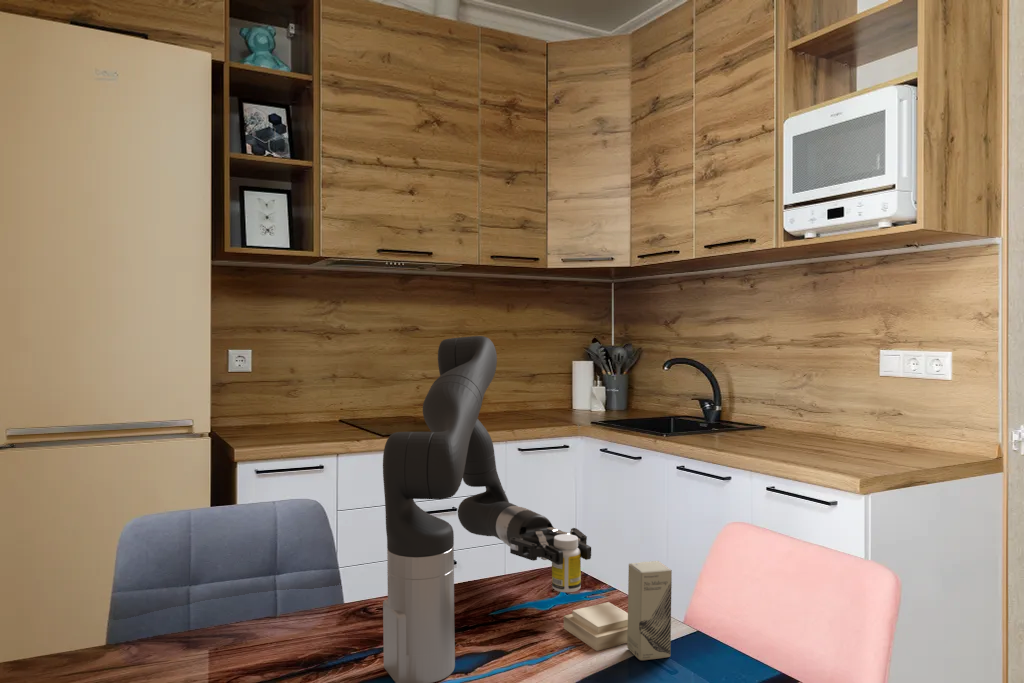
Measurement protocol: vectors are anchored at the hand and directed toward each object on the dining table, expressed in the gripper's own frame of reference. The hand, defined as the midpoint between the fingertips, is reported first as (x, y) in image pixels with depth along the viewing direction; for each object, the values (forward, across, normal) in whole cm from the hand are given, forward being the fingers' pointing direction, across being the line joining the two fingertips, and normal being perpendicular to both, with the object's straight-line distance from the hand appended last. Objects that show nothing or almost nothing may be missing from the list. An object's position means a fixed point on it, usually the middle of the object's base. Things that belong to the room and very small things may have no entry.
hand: (575, 555), depth 115 cm
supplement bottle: (-3, 0, +6) cm, 7 cm away
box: (+15, +3, +11) cm, 19 cm away
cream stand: (+6, +1, +11) cm, 12 cm away
